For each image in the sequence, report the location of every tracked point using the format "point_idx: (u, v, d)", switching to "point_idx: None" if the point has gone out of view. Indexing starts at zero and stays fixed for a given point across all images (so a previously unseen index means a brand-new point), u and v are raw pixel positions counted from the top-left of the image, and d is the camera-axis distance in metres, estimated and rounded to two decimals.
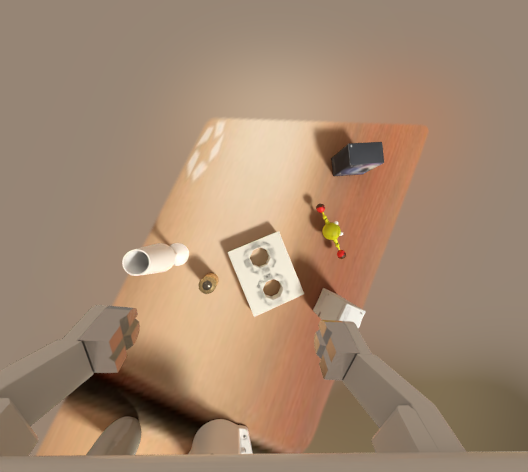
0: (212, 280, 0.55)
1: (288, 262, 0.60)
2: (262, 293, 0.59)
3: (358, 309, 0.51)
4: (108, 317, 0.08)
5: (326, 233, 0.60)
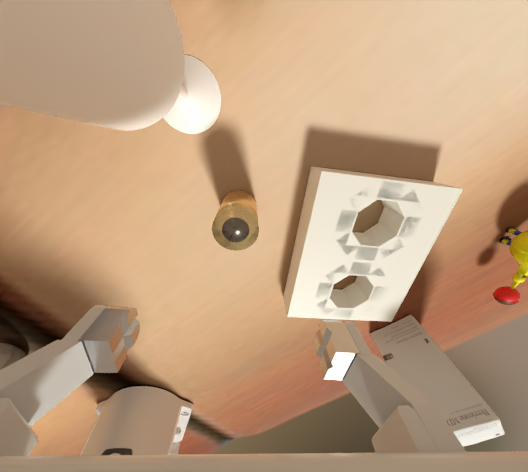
0: (254, 225, 0.20)
1: (418, 262, 0.26)
2: (328, 289, 0.27)
3: (501, 429, 0.24)
4: (108, 317, 0.08)
5: None
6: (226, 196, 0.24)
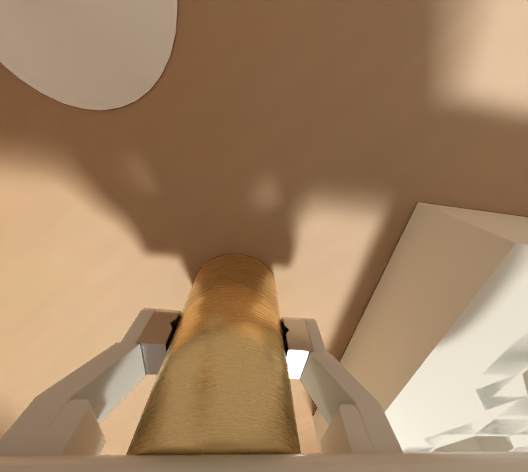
0: None
1: None
2: None
3: None
4: (159, 320, 0.08)
5: None
6: (203, 274, 0.10)
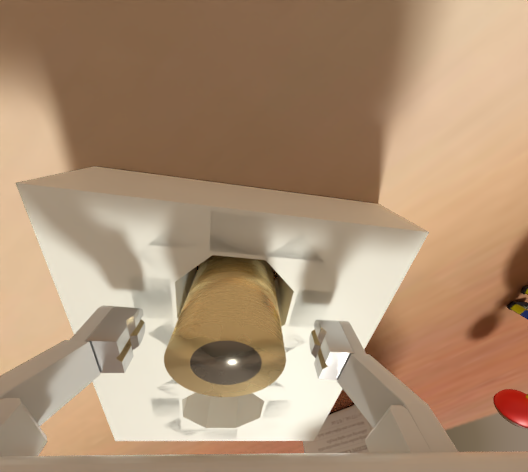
0: (275, 354, 0.07)
1: None
2: (175, 407, 0.14)
3: None
4: (115, 317, 0.08)
5: None
6: None
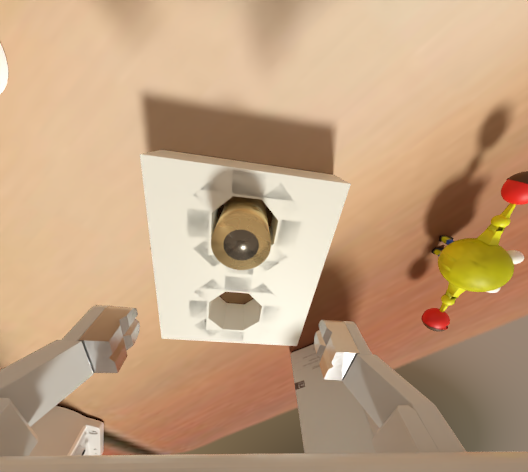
0: (265, 240, 0.15)
1: (312, 277, 0.21)
2: (204, 308, 0.22)
3: None
4: (108, 317, 0.08)
5: (462, 269, 0.19)
6: (230, 198, 0.20)
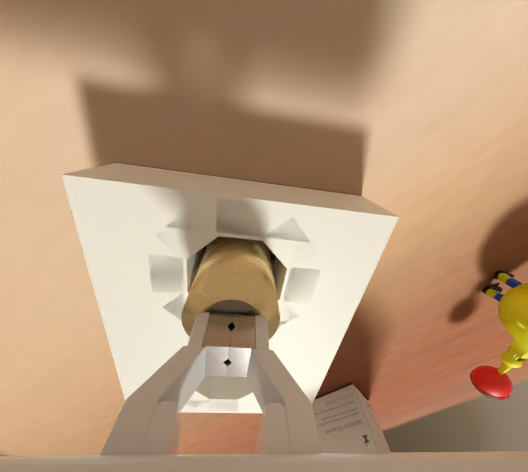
0: (271, 312, 0.09)
1: (332, 338, 0.15)
2: None
3: None
4: (216, 323, 0.08)
5: None
6: None
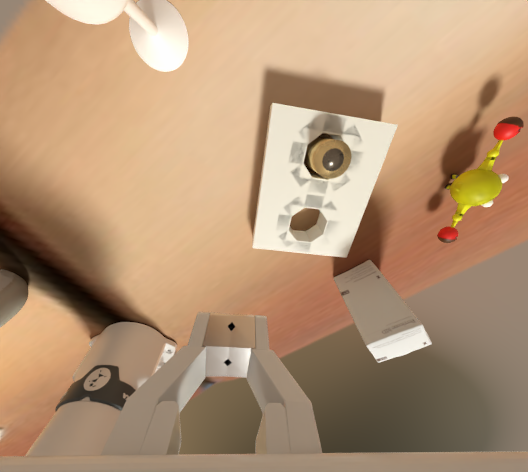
0: (348, 156, 0.25)
1: (364, 197, 0.30)
2: (287, 221, 0.31)
3: (426, 338, 0.29)
4: (217, 323, 0.08)
5: (467, 187, 0.29)
6: None
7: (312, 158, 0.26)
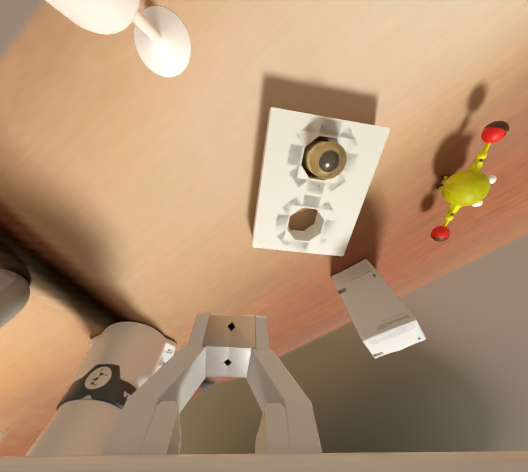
0: (343, 158, 0.26)
1: (360, 197, 0.31)
2: (285, 221, 0.32)
3: (421, 333, 0.30)
4: (217, 323, 0.08)
5: (458, 188, 0.30)
6: (308, 144, 0.30)
7: (309, 160, 0.27)
